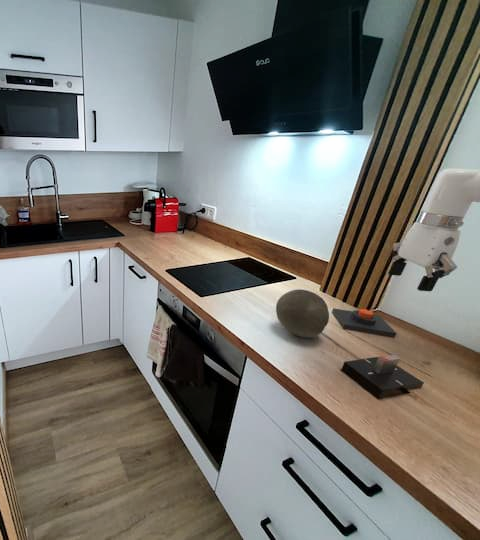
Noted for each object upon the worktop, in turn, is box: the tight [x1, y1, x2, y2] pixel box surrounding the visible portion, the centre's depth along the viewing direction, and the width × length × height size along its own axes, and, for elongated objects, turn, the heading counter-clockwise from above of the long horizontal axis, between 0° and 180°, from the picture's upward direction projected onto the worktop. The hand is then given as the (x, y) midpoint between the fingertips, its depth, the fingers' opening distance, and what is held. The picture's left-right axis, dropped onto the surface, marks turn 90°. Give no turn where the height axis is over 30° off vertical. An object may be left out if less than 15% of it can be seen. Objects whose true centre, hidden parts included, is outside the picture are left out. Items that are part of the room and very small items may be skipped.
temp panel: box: [340, 356, 425, 400], centre depth 74 cm, size 13×10×3 cm
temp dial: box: [372, 354, 401, 375], centre depth 73 cm, size 5×2×5 cm, turn 102°
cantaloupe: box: [275, 288, 330, 338], centre depth 90 cm, size 14×14×15 cm
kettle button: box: [358, 308, 374, 319], centre depth 95 cm, size 4×4×2 cm
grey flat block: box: [331, 307, 398, 339], centre depth 96 cm, size 14×11×5 cm
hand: (408, 282), depth 78 cm, fingers open, 9 cm apart
